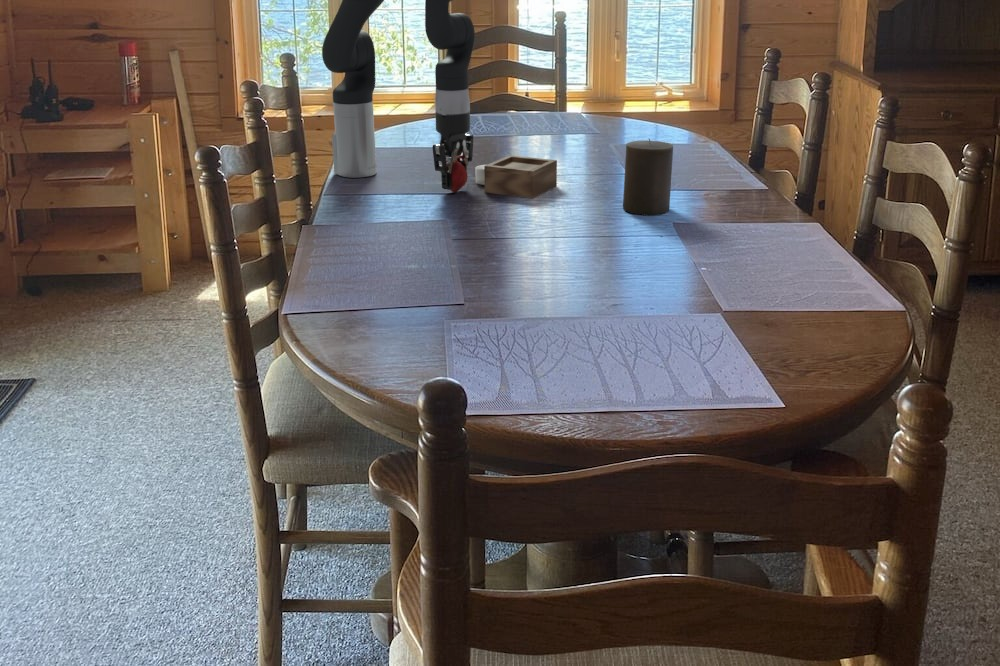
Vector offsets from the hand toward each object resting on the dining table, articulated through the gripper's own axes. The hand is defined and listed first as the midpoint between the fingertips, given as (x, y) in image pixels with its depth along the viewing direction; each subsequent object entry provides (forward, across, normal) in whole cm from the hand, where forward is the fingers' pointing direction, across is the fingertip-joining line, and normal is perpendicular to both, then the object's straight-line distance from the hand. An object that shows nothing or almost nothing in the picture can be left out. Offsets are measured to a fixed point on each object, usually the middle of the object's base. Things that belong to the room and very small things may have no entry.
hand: (454, 185), depth 236 cm
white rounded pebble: (+2, -12, +2) cm, 12 cm away
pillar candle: (+2, -6, +43) cm, 44 cm away
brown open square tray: (+2, -9, +12) cm, 15 cm away
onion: (+2, 0, 0) cm, 2 cm away
